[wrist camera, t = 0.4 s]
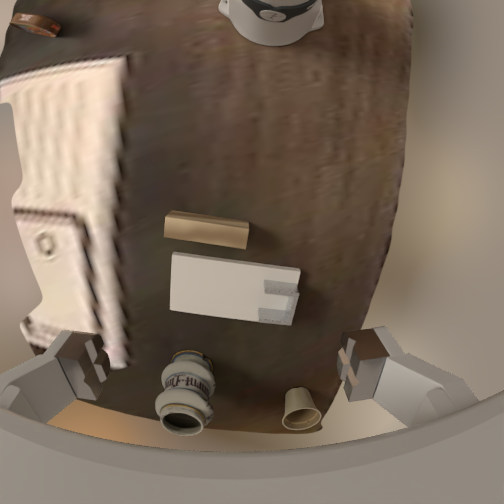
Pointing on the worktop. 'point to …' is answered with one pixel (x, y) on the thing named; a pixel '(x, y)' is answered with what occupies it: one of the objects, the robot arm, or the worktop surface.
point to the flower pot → (300, 410)
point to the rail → (206, 229)
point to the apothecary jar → (186, 394)
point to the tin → (36, 24)
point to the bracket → (233, 288)
